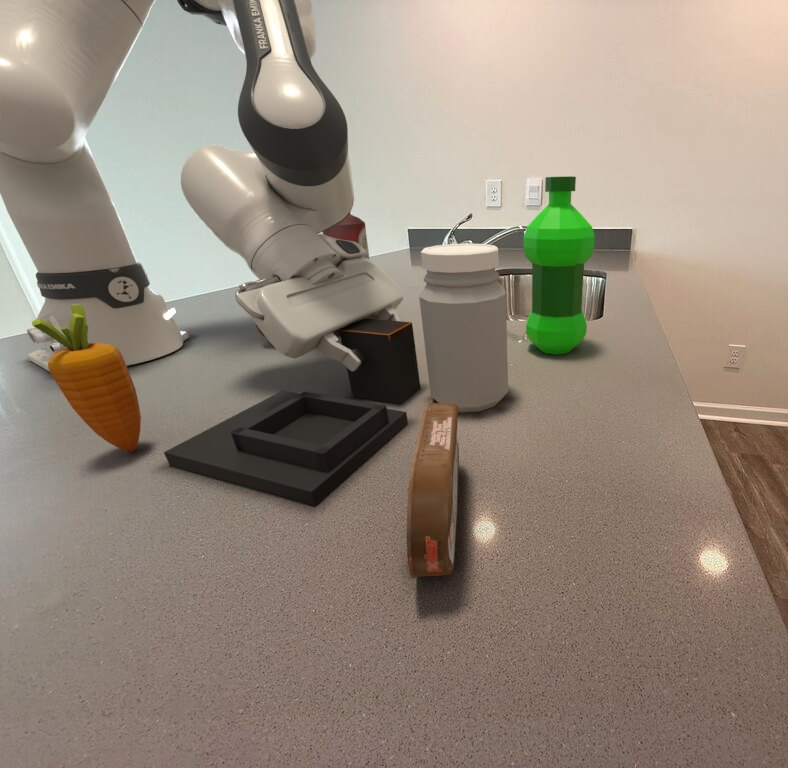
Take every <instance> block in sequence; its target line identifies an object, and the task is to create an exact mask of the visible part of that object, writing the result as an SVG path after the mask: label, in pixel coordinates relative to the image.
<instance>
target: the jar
mask: <svg viewBox="0 0 788 768" xmlns="http://www.w3.org/2000/svg"><path fill="white" fill-rule="evenodd" d="M420 259H421V265H422V270H425V271H426V274H425V275H424V276H423V282H424V283H426V284H425V286H424V288H423V289H422V291H421V293H420V295H419V297H418V298H419V308H420V316H421V324H422V332H423V342H424V350H425V358H426V366H427V367H426V368H427V375H428V383H429V393H430V397H431V398H432V399H434V400H435V402H436V403H452V404H457V405H458V413H461V414H462V413H464V414H465V413H480V412H482V411H485V410H488V409H492V408H494V407H495V406H496V405H498V404H499V402H501V401H502V400H503V398H504V397H505V396H506V395H507V394H508V392H509V369H508V365H509V364H508V363H509V362H508V329H507V327H508V326H507V324H508V323H507V295H506V294H507V293H506V290H505V287H504V286H503V285H502V284H501V283H500V282H499V279H500V274H499V271H496V268H498V267H499V265H500V264H499V263H500V262H499V261H500V260H499V248H498V246H496V245H493V244H486V243H449V244H437V245H432V246H426V247H424V248H423V249H422V250H421V251H420Z"/></svg>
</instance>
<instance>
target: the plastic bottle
mask: <svg viewBox="0 0 788 768" xmlns="http://www.w3.org/2000/svg"><path fill="white" fill-rule="evenodd" d="M544 179H545V182H544V183H545V185H544V192H545V193H548V205H546V206H545V207H544V208H543V209H542V210H541V211H540V212H539V213H537V216H535V217H534V219H532V220H531V222H530V223H529V224H528V225H527V226H526V228H525V232H524V235H523V250H524V255H525V257H526V258H527V259H528V261H529V262H530V263H531V270H532V271H531V274H532V275H531V307H532V308H531V310H530V312H529V314H528V316H527V318H526V319H527V320H526V324H525V331H526V332H525V333H526V335H527V338H528V340H529V341H530V342H531V344H532V345H534V346H536V347H537V348H538V349H539V351H541V352H542V353H544V354H549V355H563V354H564V355H565V354H567V353H570V352H571V351H572V349H574V348H575V347H577V346H578V345H579V344H581V343H582V341H583V340H584V339H585V337H586V335H587V329H588V328H587V327H588V325H587V321H586V317H585V314H584V312H583V310H582V309H583V292H584V277H585V276H584V274H585V263H587V262H588V260H589V259H591V258H592V256H593V253H594V249H595V239H596V238H595V237H596V235H595V231H594V228H593V226H592V225H591V224H590V222H589V221H588V220H587V219H586V218H585V217H584V215H583V214H582V213H581V212H579V210H578V209H577V208H576V207H575V206H573V204H572V192H576V185H577V184H576V183H577V177H576V176H546V177H545V178H544Z"/></svg>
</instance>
